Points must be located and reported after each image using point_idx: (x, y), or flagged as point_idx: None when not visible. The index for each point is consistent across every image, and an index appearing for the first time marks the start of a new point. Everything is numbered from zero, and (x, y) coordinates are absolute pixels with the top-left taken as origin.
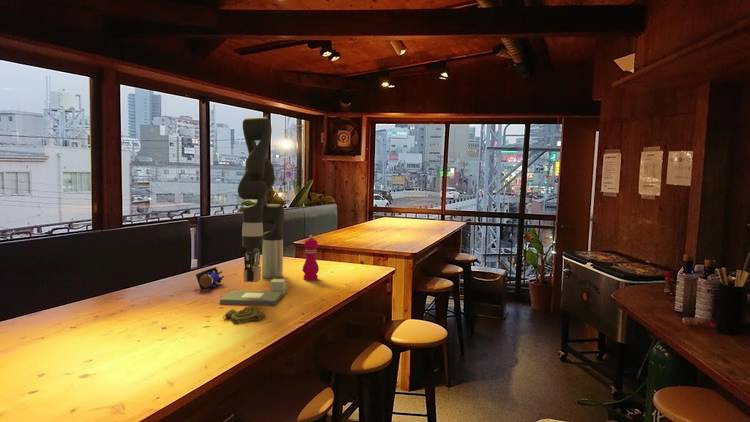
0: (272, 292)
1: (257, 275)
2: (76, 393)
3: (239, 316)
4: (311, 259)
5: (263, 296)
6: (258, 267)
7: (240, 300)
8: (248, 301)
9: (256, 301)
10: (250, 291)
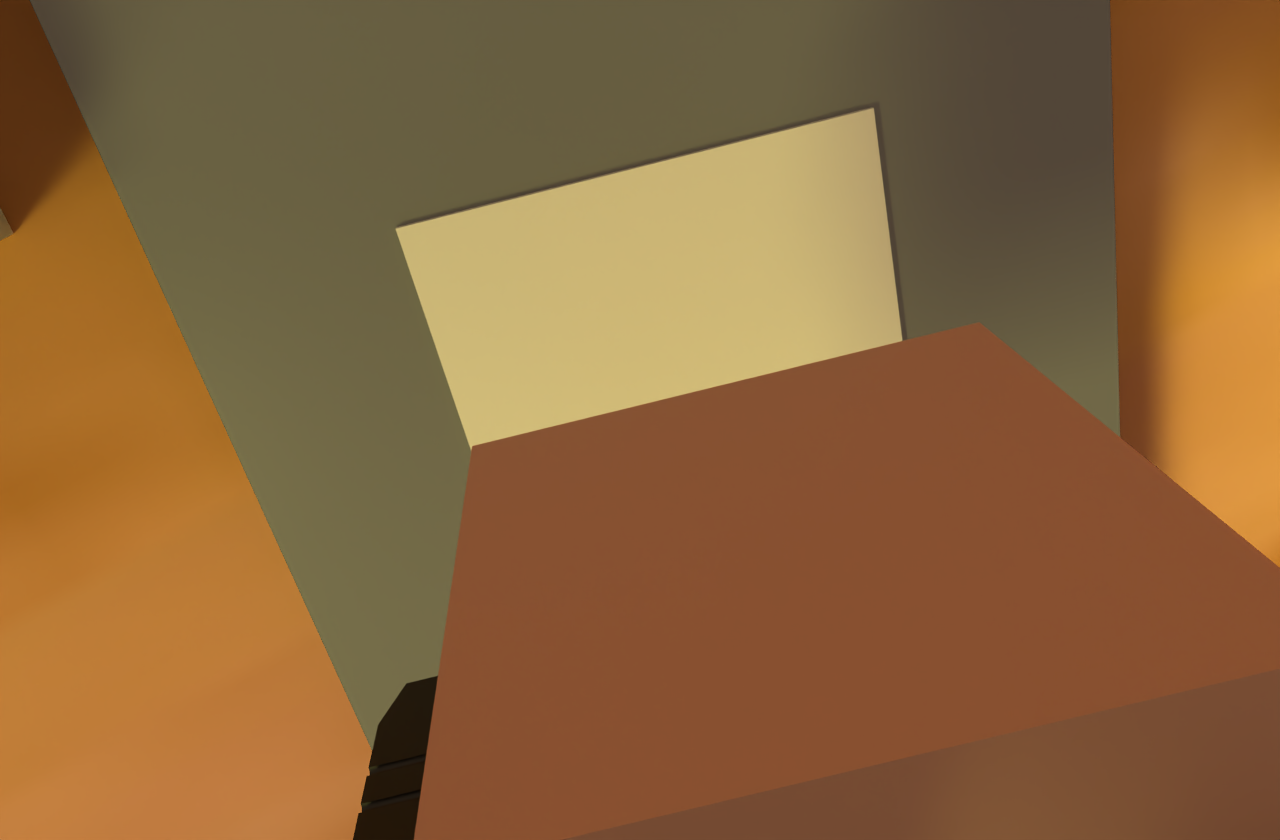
0: (195, 56)
1: (1052, 442)
2: None
3: None
4: None
5: (693, 84)
6: (870, 798)
7: (1112, 413)
8: (1102, 244)
9: (1102, 54)
10: (373, 598)
